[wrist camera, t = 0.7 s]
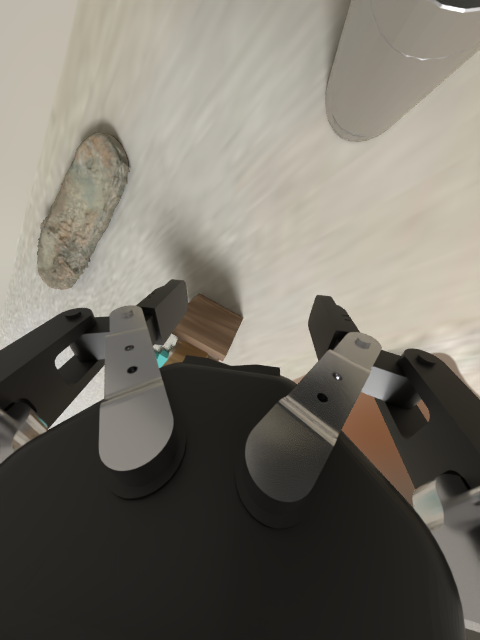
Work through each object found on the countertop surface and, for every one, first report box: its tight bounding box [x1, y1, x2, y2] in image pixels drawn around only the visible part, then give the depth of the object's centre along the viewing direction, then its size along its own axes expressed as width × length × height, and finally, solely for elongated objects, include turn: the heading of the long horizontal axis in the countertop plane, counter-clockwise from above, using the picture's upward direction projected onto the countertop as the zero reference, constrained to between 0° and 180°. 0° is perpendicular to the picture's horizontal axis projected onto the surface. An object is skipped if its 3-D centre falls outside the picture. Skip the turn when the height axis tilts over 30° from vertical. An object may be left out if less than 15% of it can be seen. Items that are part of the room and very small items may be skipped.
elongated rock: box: [37, 132, 130, 290], centre depth 35 cm, size 35×5×10 cm
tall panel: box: [162, 340, 209, 367], centre depth 32 cm, size 2×5×22 cm, turn 63°
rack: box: [172, 294, 243, 361], centre depth 35 cm, size 10×10×12 cm
